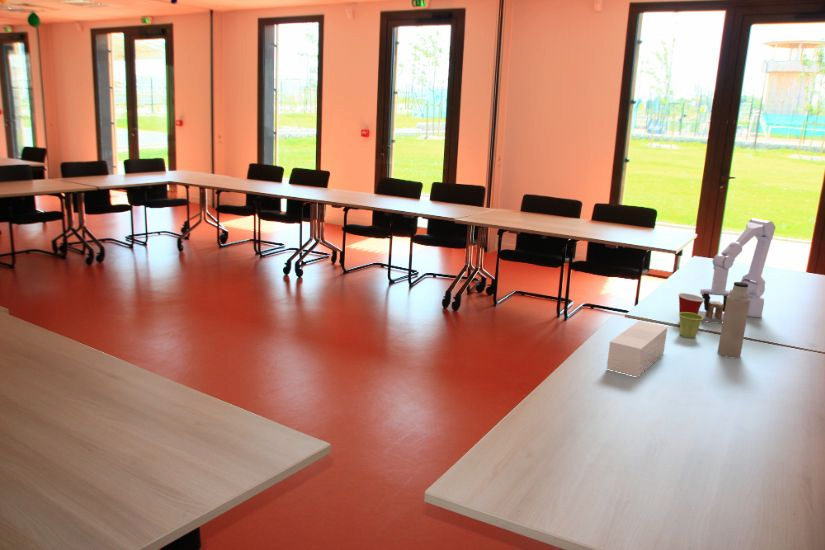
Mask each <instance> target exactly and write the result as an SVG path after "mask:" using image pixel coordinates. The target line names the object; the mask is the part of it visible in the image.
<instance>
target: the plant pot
mask: <svg viewBox="0 0 825 550" xmlns="http://www.w3.org/2000/svg"><path fill="white" fill-rule="evenodd" d="M678 316H679V335H680V336H681V337H683V338H687V339H691V338H693V339H694V338H696V337H697V335H698V330H699V327H700V324H701V322H702V319H703V317H702V316H701V315H698V314H695V313H690V312H681V313H678Z"/></svg>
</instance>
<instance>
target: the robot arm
mask: <svg viewBox="0 0 825 550" xmlns="http://www.w3.org/2000/svg"><path fill="white" fill-rule="evenodd" d="M775 231H776V225H775V224H774V221H771V220H764V219H760V218H756V217H752V218H750V219H749V220H748V222H747V223H746V225H745V229H744V230H743V232H742V233H741V235H740V236H739V237H738V238H737V239H736V240H735V241H732V242H730V243H729V245H727V247H726V248H725V249H724V250H723V251H722V252H721V253H718V254H715V256H714V257H713V259H712V265H713V268H712V269H713V270H714V271H713V276H712V283H711V288H705V289H702V288H701V289H700V290H699V293H700V295H701V296H702V298H704V299H705V300H704V301H703V305H704V308H703V310H705V312H706V311H708V305H709V301H711V300H710V299H711V295H712V296H722V297H723V300H722V304H723V305H724V306H723V312H722V313H724V311H725V306H726V299H727V296H728V295H729V293H730V290H726V286H727V281H728V276H729V270H730V269H731V268H732V267H733V265H734V262H735V261H736V258H737V257H738V256H739V255H740V253H742V252H743V247H744V246H745V245H746V244H747V243H749V242H750V241H751V240H752V238H754V237H755V238H756V240H757V242H756V245H755V249H754V252H753V255H752V259H751V263H750V267H749V270H748V273H747V274H745V275H743V276H742V278H741V280H740V282H742V283H746V284H748V287H747V288H748V289H747V292H748V293H749V299H750V304H749V310H748V316H747V317H753V318H754V317H755V318H762V317H763V312H764V311H763V310H764V305H765V298H764V297H763V295H764V293H765V291H766V288H765V285H766V281H765V279H764V278H763V277H762V273H763V271H764V268H765V263H766V260H767V257H768V253H769V250H770V246H771V243H772V241H773V237H774V235H775V234H774V233H775Z"/></svg>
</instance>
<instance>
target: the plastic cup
mask: <svg viewBox="0 0 825 550" xmlns="http://www.w3.org/2000/svg"><path fill="white" fill-rule="evenodd" d="M677 295H678V302H679V304H678V306H679V307H678V308H679V313H681V312H690V313H695V314H698V312H699V311H700V308H701V306H702V304H703V303H704V300H705V299H704V298H703V297H701V296H699V295H696V294H692V293H686V292H685V293H684V292H683V293H682V292H679V293H678V294H677ZM679 313H678V314H679Z"/></svg>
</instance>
